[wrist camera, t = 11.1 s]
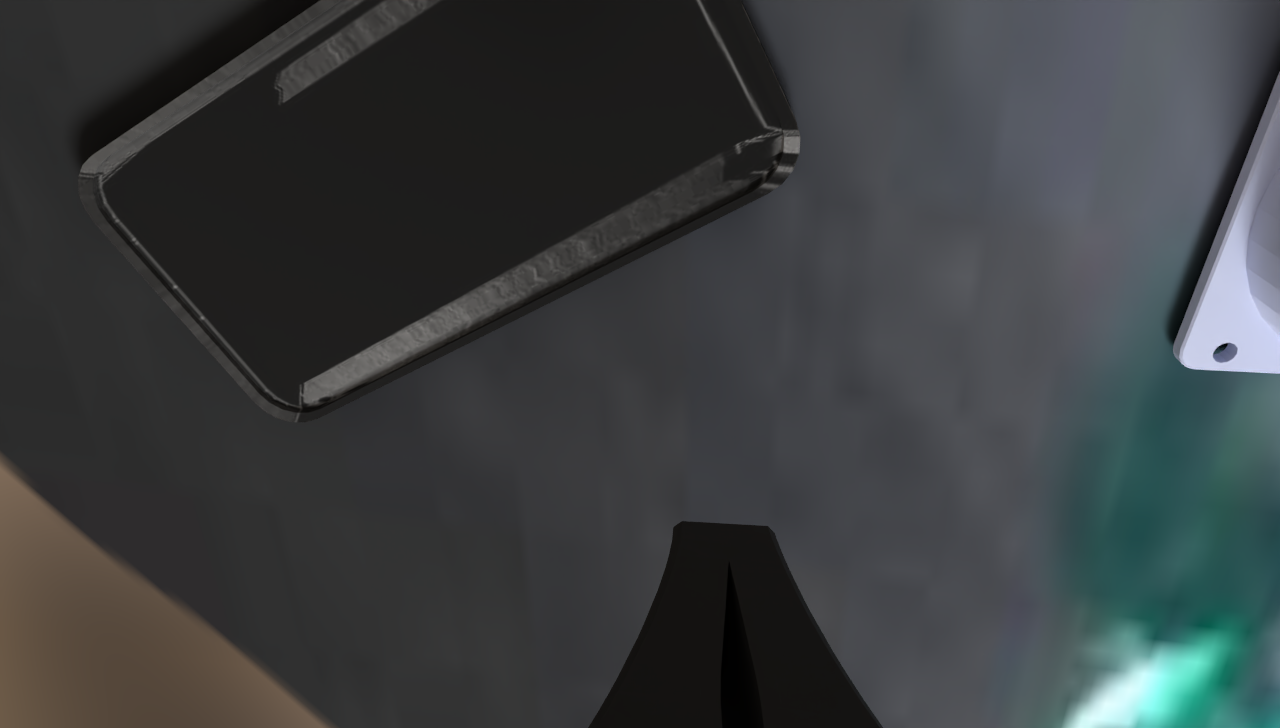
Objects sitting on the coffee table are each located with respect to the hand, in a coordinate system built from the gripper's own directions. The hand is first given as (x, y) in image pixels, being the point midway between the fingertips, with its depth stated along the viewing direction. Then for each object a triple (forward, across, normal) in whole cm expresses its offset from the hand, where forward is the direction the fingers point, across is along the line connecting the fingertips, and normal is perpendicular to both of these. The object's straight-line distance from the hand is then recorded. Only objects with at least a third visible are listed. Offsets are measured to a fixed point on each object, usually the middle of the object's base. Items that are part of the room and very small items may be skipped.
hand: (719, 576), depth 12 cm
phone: (+10, +6, -3) cm, 12 cm away
